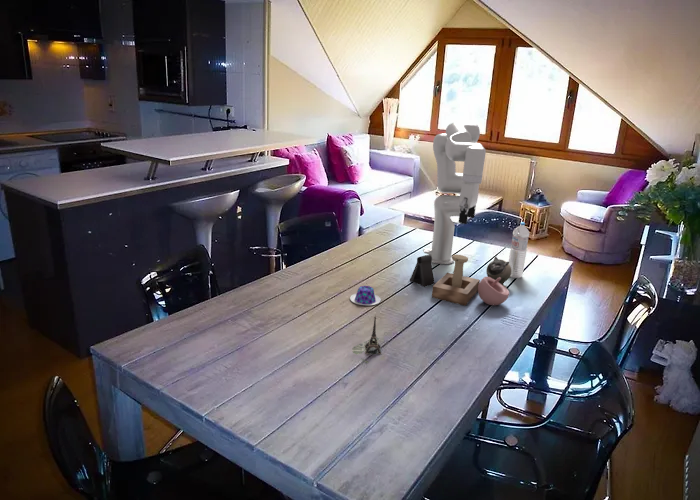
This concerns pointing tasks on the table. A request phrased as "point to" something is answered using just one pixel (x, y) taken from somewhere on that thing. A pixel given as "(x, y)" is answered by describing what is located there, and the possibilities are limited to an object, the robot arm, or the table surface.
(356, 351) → the eiffel tower figurine
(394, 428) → the table surface
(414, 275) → the door stopper
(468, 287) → the socket block
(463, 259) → the handle
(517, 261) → the water bottle
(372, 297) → the pudding
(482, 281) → the mortar and pestle
